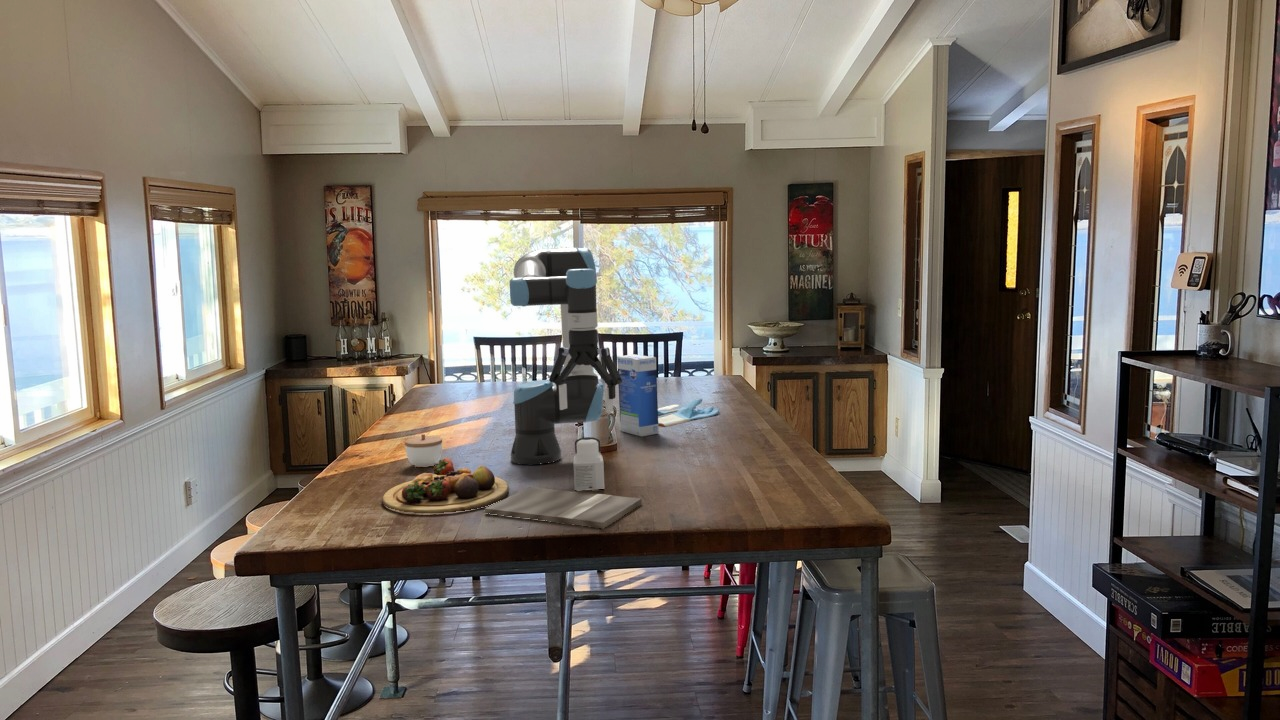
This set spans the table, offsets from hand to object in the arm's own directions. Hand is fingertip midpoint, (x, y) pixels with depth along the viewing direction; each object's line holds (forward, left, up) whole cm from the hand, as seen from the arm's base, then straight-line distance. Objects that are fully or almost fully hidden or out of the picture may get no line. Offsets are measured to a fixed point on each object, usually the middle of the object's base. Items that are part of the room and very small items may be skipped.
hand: (586, 410), depth 236 cm
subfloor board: (+4, -20, -21) cm, 29 cm away
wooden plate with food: (-31, -20, -21) cm, 43 cm away
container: (0, 0, -21) cm, 21 cm away
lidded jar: (-58, +5, -21) cm, 62 cm away
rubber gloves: (-19, +97, -21) cm, 101 cm away
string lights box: (-17, +66, -21) cm, 71 cm away
